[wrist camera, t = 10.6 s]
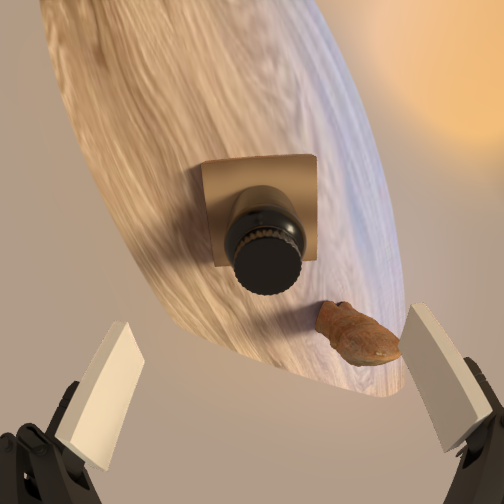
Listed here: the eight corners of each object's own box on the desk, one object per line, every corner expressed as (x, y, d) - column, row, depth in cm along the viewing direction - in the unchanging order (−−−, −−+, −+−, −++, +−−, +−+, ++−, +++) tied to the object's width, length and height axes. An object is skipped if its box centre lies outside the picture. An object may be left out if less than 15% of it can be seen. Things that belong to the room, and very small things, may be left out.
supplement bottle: (265, 254, 32) (268, 322, 21) (218, 217, 30) (196, 271, 19) (307, 211, 30) (335, 263, 19) (260, 169, 28) (262, 199, 17)
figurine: (311, 325, 40) (330, 406, 27) (320, 278, 37) (349, 360, 23) (362, 323, 40) (394, 398, 27) (375, 279, 37) (421, 351, 23)
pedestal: (205, 161, 30) (200, 164, 28) (310, 154, 30) (316, 156, 27) (217, 255, 35) (214, 266, 33) (312, 249, 35) (316, 260, 32)
